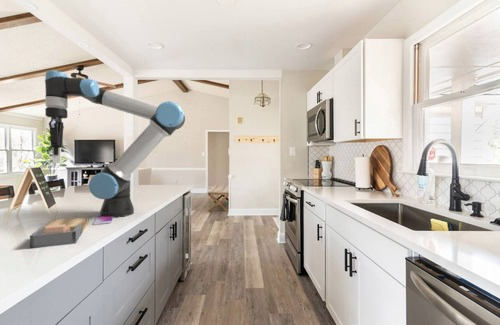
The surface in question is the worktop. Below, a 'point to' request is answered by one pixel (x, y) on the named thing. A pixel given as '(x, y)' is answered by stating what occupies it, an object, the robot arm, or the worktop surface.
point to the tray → (54, 237)
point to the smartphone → (102, 220)
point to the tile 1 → (55, 228)
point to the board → (71, 222)
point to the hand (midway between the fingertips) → (56, 162)
